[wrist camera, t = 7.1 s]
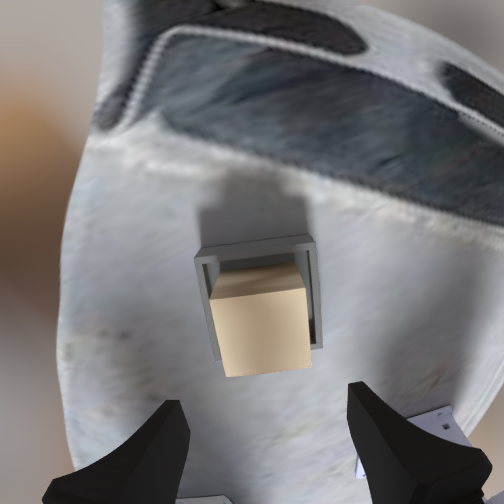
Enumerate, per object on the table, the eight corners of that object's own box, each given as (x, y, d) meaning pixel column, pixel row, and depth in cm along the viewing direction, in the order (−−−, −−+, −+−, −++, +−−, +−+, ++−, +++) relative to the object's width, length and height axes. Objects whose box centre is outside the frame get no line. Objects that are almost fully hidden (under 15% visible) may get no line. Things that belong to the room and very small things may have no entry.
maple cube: (294, 261, 19) (305, 287, 15) (301, 327, 20) (311, 367, 16) (220, 271, 19) (209, 300, 15) (232, 336, 20) (226, 377, 16)
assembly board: (308, 233, 20) (315, 242, 17) (316, 330, 21) (322, 347, 19) (201, 248, 20) (193, 258, 18) (219, 342, 22) (215, 360, 19)
